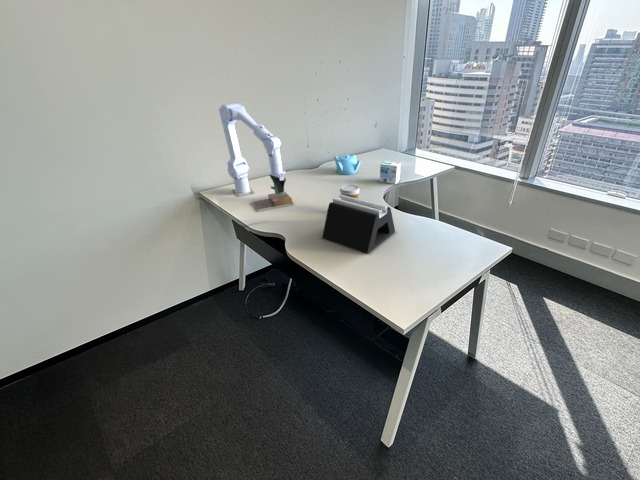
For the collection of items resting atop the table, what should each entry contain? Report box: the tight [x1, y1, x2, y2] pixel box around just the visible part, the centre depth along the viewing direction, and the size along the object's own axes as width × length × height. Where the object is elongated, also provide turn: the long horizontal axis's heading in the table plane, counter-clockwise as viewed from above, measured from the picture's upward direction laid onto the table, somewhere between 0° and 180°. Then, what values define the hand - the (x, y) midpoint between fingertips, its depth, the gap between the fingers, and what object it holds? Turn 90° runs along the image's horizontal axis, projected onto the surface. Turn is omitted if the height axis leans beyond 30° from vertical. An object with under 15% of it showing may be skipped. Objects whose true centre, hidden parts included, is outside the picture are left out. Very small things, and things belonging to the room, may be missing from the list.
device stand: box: [322, 194, 396, 254], centre depth 137 cm, size 22×22×15 cm
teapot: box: [333, 153, 362, 176], centre depth 209 cm, size 15×15×11 cm
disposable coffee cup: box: [339, 184, 361, 199], centre depth 158 cm, size 10×10×12 cm
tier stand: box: [251, 191, 293, 211], centre depth 166 cm, size 11×18×3 cm, turn 120°
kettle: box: [270, 183, 286, 194], centre depth 165 cm, size 7×5×5 cm
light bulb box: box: [379, 160, 401, 185], centre depth 195 cm, size 11×7×11 cm, turn 68°
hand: (279, 190), depth 166 cm, fingers closed on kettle, 5 cm apart
